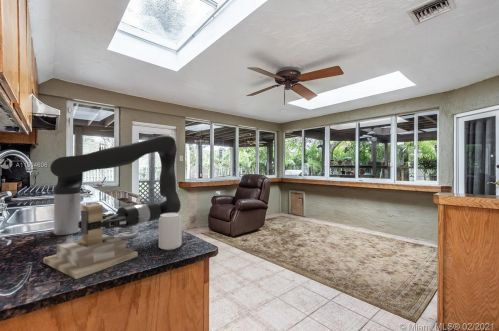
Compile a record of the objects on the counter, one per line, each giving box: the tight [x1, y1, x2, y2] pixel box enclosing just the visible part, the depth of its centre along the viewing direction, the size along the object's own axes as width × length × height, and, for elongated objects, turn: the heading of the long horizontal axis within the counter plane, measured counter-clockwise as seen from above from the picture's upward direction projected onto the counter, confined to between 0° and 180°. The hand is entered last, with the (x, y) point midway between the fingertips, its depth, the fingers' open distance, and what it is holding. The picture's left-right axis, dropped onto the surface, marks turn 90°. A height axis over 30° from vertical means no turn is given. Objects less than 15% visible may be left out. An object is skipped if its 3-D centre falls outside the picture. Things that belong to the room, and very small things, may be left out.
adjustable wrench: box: [113, 231, 138, 240], centre depth 93 cm, size 25×6×2 cm, turn 137°
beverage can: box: [158, 212, 183, 251], centre depth 88 cm, size 8×8×12 cm
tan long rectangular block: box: [80, 203, 103, 247], centre depth 76 cm, size 4×5×14 cm
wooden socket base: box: [42, 233, 139, 280], centre depth 76 cm, size 20×18×6 cm
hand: (83, 226), depth 73 cm, fingers closed on tan long rectangular block, 4 cm apart
